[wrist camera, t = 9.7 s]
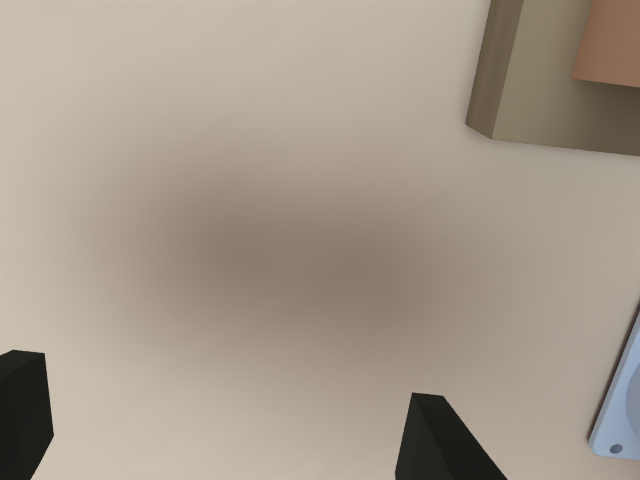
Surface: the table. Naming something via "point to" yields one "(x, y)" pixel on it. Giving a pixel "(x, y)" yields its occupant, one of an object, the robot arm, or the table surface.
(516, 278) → the table surface
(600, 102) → the olive block
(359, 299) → the table surface
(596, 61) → the light tan block
